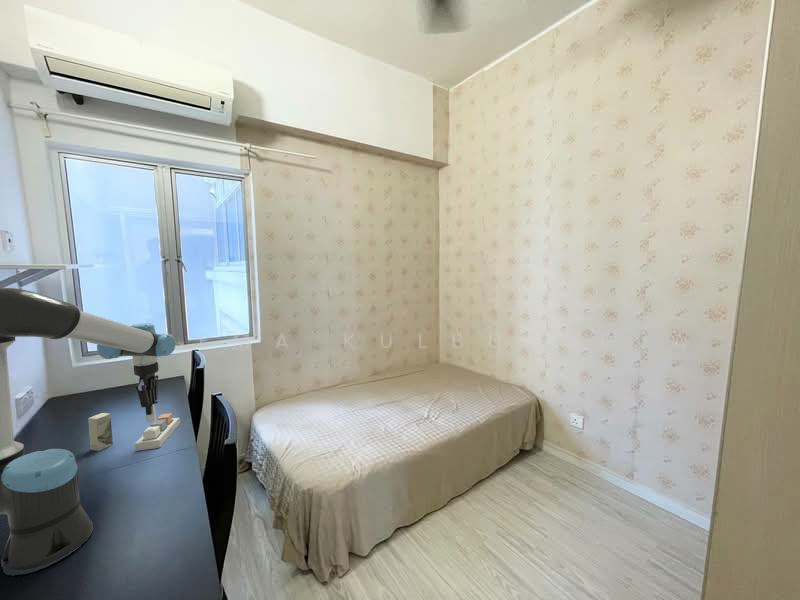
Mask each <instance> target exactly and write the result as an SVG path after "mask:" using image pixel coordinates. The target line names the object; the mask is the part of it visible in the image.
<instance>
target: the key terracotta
mask: <svg viewBox="0 0 800 600" xmlns="http://www.w3.org/2000/svg"><path fill="white" fill-rule="evenodd" d="M172 418H173V413H172V412H171V413H170V412H169V413H162V414H159V416H158V417H156V420H164V419H166V425H167V424H169V423H170V422H171V421H172Z"/></svg>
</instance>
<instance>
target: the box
mask: <svg viewBox="0 0 800 600" xmlns="http://www.w3.org/2000/svg"><path fill="white" fill-rule="evenodd" d="M87 422H88V434H89V447H90V450H91V451H95V452H96V451H97V452H100V451H103V450H104V449H107V448H108V447H110V446H113V445H114V442H113V431H112V429H113V428H112V416H111V413H107V412H101V413H98V414H95V415H93V416H90V417H88V419H87Z"/></svg>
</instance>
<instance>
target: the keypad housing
mask: <svg viewBox="0 0 800 600" xmlns="http://www.w3.org/2000/svg"><path fill="white" fill-rule="evenodd" d="M180 423H181V421H180V417H172V421H171V422H170V423H169V424H167V427H166V428H165V429H164V430H163V431H160V434H159V435H158V437H157V438H155V439H148V440H144V438H143V435H142V436H141V437H140V438H139V439H137V441H136V442H135V443H134V448H135V452H139V451H144V450H151V449H158V448H161V447H162V446H163V445H164V444H165V442H167V440H168V439H169V438H170V436H171V435H172V434H173V433H174V432H175V430H176V429H177V428H178V427H179V426H180Z"/></svg>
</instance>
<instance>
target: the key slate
mask: <svg viewBox="0 0 800 600" xmlns="http://www.w3.org/2000/svg"><path fill="white" fill-rule="evenodd" d="M155 426H160V431H163V430H164V429H165V428H166V427H167V425H166V419H164V420H157V419H156V421H154V422H151V424H150V426H149V427H155Z"/></svg>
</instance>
